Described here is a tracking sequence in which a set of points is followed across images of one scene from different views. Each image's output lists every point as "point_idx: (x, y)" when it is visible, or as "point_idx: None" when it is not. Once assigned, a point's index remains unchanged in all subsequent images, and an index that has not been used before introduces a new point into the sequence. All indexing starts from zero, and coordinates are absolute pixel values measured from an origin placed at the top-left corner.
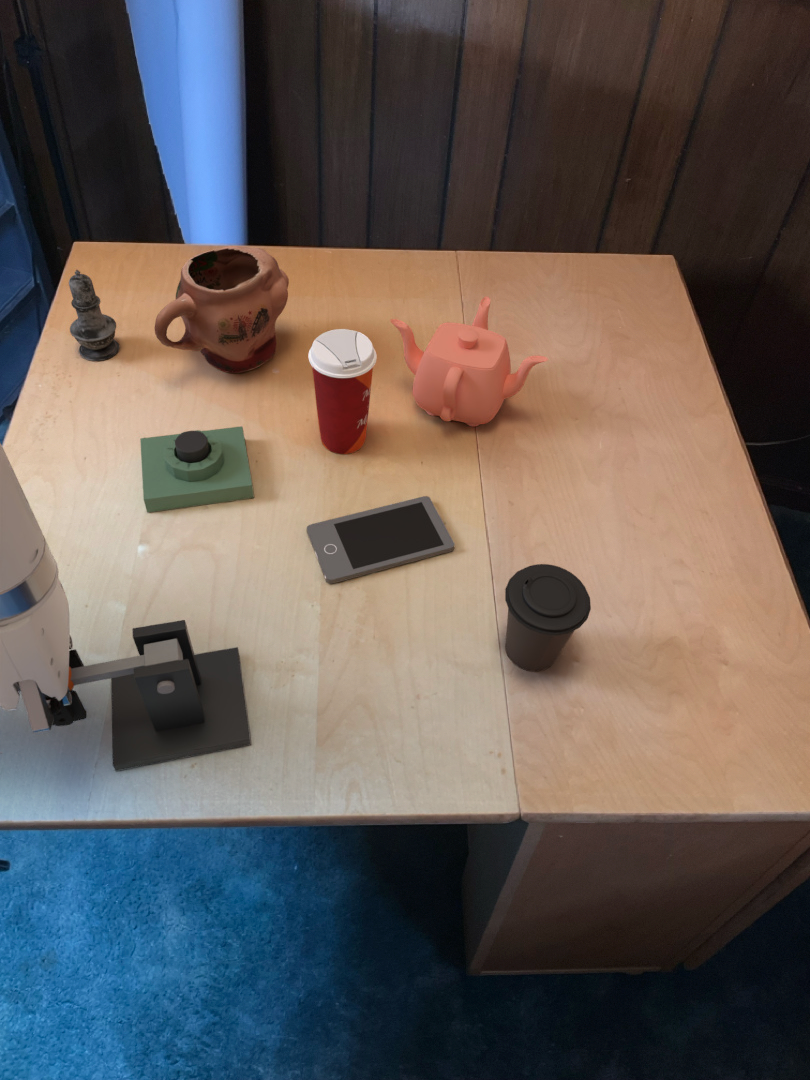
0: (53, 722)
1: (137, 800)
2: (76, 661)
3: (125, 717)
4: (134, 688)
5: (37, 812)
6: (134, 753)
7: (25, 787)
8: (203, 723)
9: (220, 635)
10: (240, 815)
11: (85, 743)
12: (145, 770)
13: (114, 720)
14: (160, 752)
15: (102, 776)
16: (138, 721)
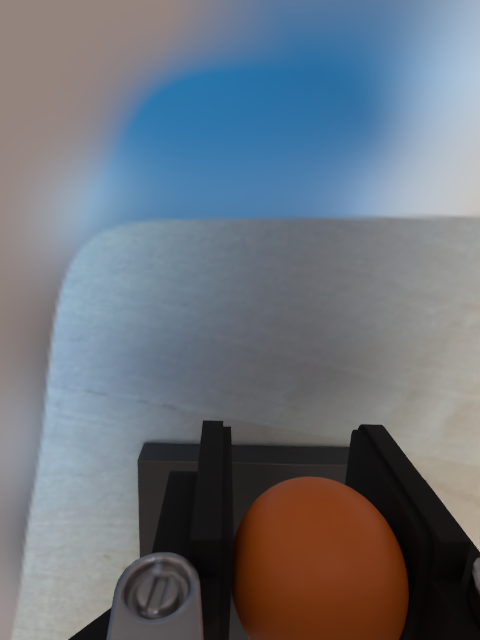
0: (168, 484)
1: (71, 476)
2: None
3: (251, 489)
4: None
5: (77, 285)
6: (157, 501)
7: (145, 259)
8: None
9: None
10: (14, 628)
11: (225, 387)
12: (134, 493)
13: (251, 467)
14: (148, 546)
15: (138, 417)
16: (233, 513)
